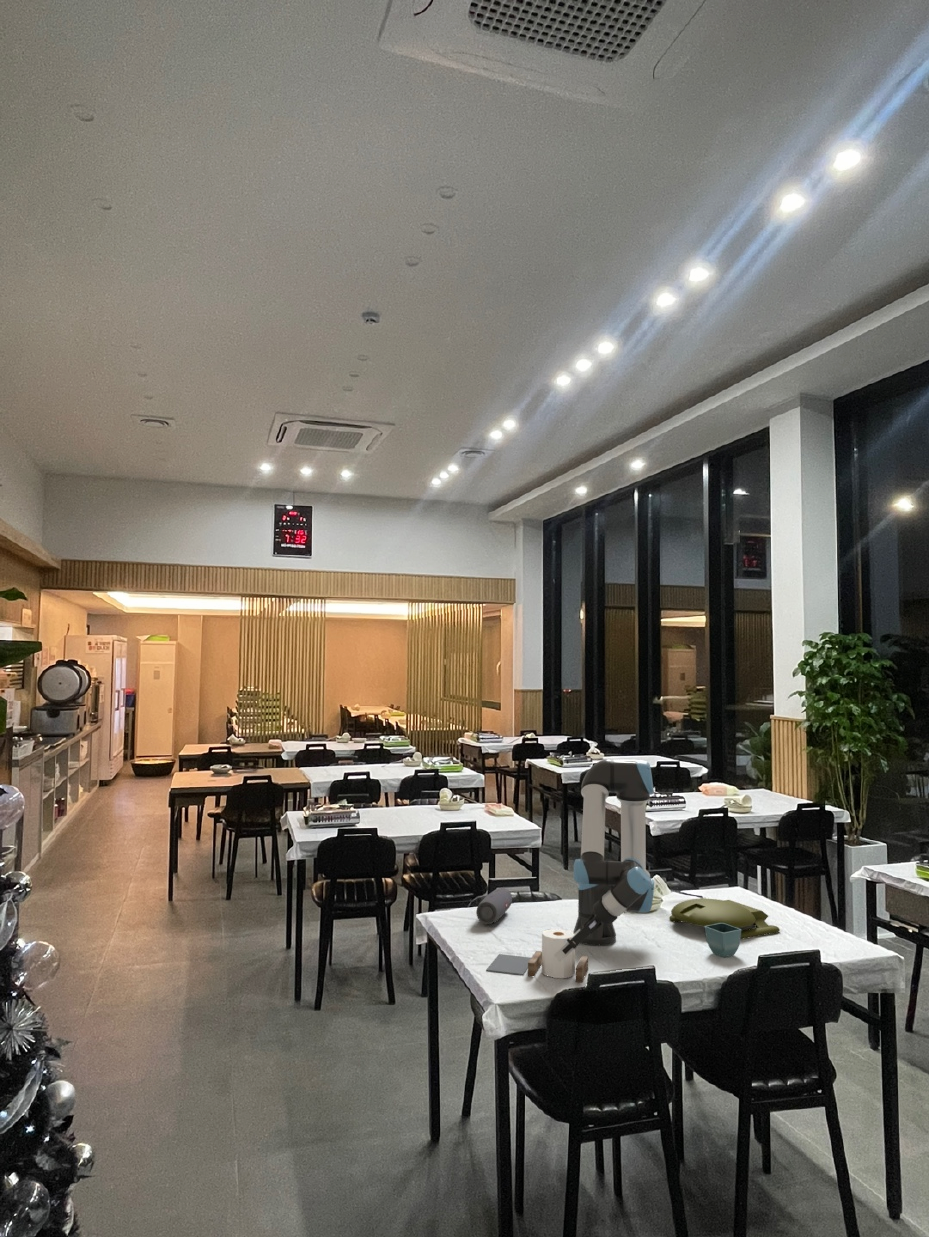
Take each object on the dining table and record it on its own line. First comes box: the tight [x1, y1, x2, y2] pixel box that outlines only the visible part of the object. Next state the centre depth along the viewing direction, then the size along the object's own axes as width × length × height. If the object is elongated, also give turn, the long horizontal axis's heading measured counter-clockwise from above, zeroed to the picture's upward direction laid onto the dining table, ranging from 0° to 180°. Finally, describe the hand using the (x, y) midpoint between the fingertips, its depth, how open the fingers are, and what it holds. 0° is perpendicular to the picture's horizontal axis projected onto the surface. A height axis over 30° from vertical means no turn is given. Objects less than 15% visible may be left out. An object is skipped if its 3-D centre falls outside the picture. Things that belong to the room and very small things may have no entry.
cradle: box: [527, 950, 589, 983], centre depth 257 cm, size 12×17×4 cm
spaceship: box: [669, 898, 781, 940], centre depth 308 cm, size 35×31×10 cm
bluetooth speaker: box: [475, 887, 513, 925], centre depth 315 cm, size 23×9×10 cm, turn 162°
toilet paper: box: [541, 928, 576, 979], centre depth 257 cm, size 10×10×12 cm
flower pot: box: [704, 923, 742, 958], centre depth 277 cm, size 9×9×9 cm
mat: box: [485, 953, 532, 976], centre depth 263 cm, size 16×12×1 cm
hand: (562, 951), depth 255 cm, fingers open, 13 cm apart
